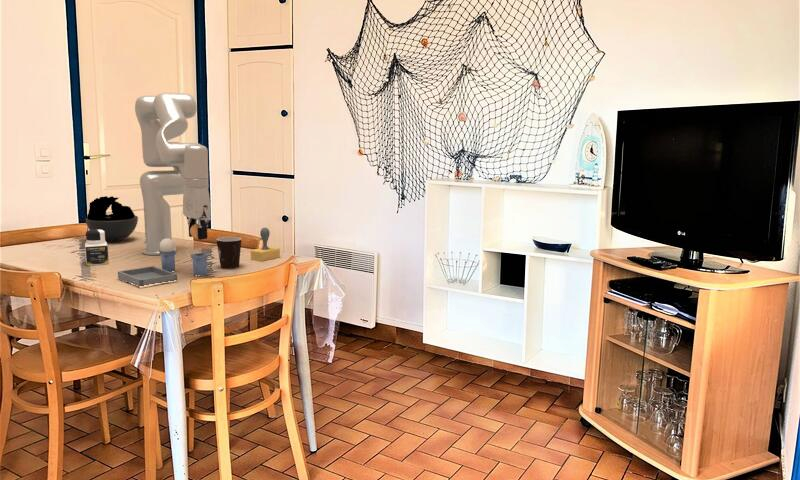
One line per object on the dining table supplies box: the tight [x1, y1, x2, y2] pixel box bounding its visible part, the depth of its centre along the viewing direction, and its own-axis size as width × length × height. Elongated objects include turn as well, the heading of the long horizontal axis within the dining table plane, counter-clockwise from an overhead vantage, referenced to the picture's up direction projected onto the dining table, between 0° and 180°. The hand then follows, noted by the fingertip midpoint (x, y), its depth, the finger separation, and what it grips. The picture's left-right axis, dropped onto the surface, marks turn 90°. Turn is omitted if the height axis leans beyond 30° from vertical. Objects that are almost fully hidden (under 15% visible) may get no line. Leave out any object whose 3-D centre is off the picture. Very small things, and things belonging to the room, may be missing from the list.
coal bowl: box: [85, 195, 139, 242], centre depth 270 cm, size 20×20×19 cm
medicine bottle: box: [84, 229, 110, 266], centre depth 230 cm, size 7×7×12 cm
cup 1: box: [159, 250, 177, 273], centre depth 220 cm, size 4×4×7 cm
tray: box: [117, 265, 178, 286], centre depth 208 cm, size 16×12×2 cm
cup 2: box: [190, 252, 209, 276], centre depth 215 cm, size 4×4×7 cm
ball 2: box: [190, 223, 199, 240], centre depth 214 cm, size 5×5×5 cm
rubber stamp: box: [250, 227, 281, 263], centre depth 242 cm, size 10×6×12 cm, turn 145°
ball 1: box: [160, 238, 176, 253], centre depth 219 cm, size 5×5×5 cm
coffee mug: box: [215, 236, 242, 270], centre depth 227 cm, size 12×9×10 cm
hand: (198, 237), depth 214 cm, fingers closed on ball 2, 4 cm apart
